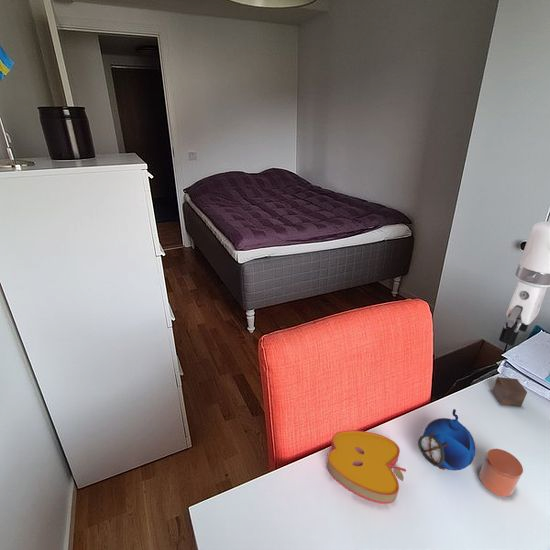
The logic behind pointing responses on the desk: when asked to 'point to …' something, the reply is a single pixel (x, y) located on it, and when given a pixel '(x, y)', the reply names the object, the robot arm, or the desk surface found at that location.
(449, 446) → the bomb
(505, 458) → the terracotta pot
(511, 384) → the walnut block
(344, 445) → the decorative object
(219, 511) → the desk surface
